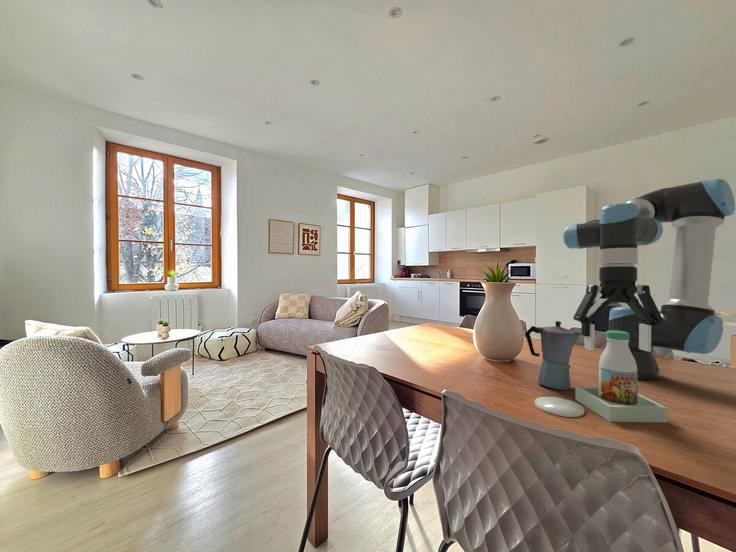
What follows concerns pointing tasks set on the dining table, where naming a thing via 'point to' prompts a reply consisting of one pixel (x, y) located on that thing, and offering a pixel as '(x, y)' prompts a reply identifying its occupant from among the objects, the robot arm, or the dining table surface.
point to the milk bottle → (618, 371)
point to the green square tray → (621, 407)
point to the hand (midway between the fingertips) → (616, 349)
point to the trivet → (559, 406)
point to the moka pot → (554, 354)
